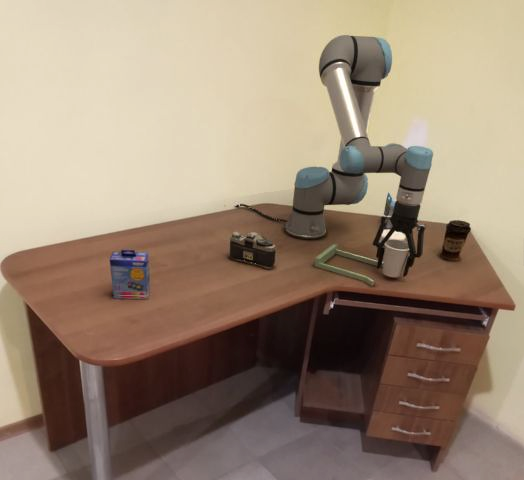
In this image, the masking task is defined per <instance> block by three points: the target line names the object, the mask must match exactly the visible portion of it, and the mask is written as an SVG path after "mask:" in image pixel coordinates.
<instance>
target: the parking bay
mask: <svg viewBox="0 0 524 480" xmlns="http://www.w3.org/2000/svg"><path fill="white" fill-rule="evenodd" d="M335 255H338V256H341V257H345V258H348V259H351V260H355V261H358V262H362V263H365V264H369V265H372V266H376V267H377V263H378V260H376V259H373V258H369V257H367V256H363V255H359V254H355V253H351V252H348V251H344V250H341V249H338V244H335V243H333V244H332V245H330V246H329V247H328V248H327V249H325V250H324V251H322V252H321V253H319V254H318V255H317V256H316V257H315V259H314V265H313V266H314V267H316V268H319V269H322V270H326V271H329V272H333V273H335V274H340V275H342V276H346V277H349V278H352V279H356V280H359V281H362V282H365V283H366V284H368V285H369V286H371V287H373V286H374V285H375V280H373V279H372V278H370V277H369V276H367V275H363V274H361V273H358V272H354V271H351V270H347V269H344V268H340V267H337V266H333V265H330V264H328V263H325V262H327V261H328V260H330V259H331V258H332V257H333V256H335ZM383 263H384V261H382V265H381V267H380V268H383Z"/></svg>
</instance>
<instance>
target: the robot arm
mask: <svg viewBox="0 0 524 480" xmlns="http://www.w3.org/2000/svg"><path fill="white" fill-rule="evenodd" d="M392 64H393V53H392V48H391V45H390V44H389V42H388V40H386V38H382V37H377V36H366V35H365V36H364V35H349V34H341V35H338V36H335V37H334V38H332V39H330V41H328V43H327V44H325V47H324V48H323V50H322V51H321V54H320V57H319V61H318V74H319V79H320V81H321V84H322V85H323V86H324V87H326V90H327V93H328V97H329V100H330V103H331V104H330V105H331V107H332V111H333V114H334V117H335V121H336V125H337V128H338V131H339V136H340V141H339V149H338V155H337V161H335V162H334V163H333V164H332V166H331V171H330V170H329V169H328V168H327V167H324V166H308V167H303V168H301V169H300V170H298V171H297V172H296V175H295V180H294V181H295V182H294V187H293V198H292V208H291V212H290V215H289V216H288V219H283V218H276V217H273V218H272V216H269V215H267V214H265V213H263V212H262V211H260V210H259V209H257V210H256V208H254V209H252V208H253V207H252V208H248V207H251V206H250V205H248V204H245V203H239V204H240V206H239V205H238V204H236V205H235V206H234V207H235V208H239V207H245V208H248V209H249V210H252V211H254V212H256V213H257V214H259V215H260V216H263V217H265V218H267V219H269V220H272V221H277V222H284V223H285V228H286V229H285V228H284V231H285V233H286V234H287V235H289V236H290V237H293V238H296V239H301V240H318V239H319V240H320V239H322V238H324V237H325V236H326V231H327V230H326V228H327V227H326V222H325V216H324V210H325V206H340V205H342V206H343V205H344V206H350V205H357V204H359V203H360V202H361V201H363V199H364V198H365V196H366V194H367V191H368V189H369V188H368V187H369V182H368V180H369V178H368V175H367V174H392V173H393V174H395V175H397V176H399V177H400V179H399V184H398V188H397V192H396V198H395V199H396V200H395V201H394V202H395V205H394V210H393V214H392V216H387V215H384V214H383V215H384V216H383V215H382V216H381V217H380V225H379V227H378V229H377V231H376V234H375V237H374V239H373V241H372V246H373V247H376V248H377V250H376V254H375V258H377V259H378V260H377V261H378V263H377V266H376V269H377V270H379V269H380V268H382V267H381V265H382V262H384V252H385V246H384V245H385V242H387V241H388V239H389V238H390V237H391V236H392V234H393V233H394V232H395V231H396V232H401V233H403V234H404V235H405V236H406V242H407V243H408V247H409V254H408V256H407V259H406V261H405V264H404V268H403V269H404V270H403V274H402V277H403V278H405V277H406V276H408V273H409V268H412V267H413V266H414V264H415V260H416V258H417V259H418V258H421V257H422V255H423V251H424V239H425V238H424V237H425V231H426V229H427V224H422V223H419V221H418V217H419V213H420V210H421V204H422V202H423V199H424V194H425V190H426V186H427V182H428V178H429V175H430V171H431V168H432V164H433V163H432V161H433V157H434V152H433V149H431V148H429V147H425V146H421V145H411V146H408V147H407V148H406V147H405V146H403V145H402V144H398V143H395V142H391V143H388V144H386V145H383V146H379V145H378V146H375V145H371V142H370V139H369V136H368V128H369V123H370V117H371V112H372V106H373V101H374V95H375V92H376V90H377V89H379V88H380V87H381V84H382V80H384V79H386V78H387V77H388V76H389V74H390V73H391V70H392ZM258 210H259V211H260V212H259V211H258ZM262 213H263V214H262ZM264 214H265V215H264ZM274 218H275V219H274ZM276 219H277V220H276ZM279 220H280V221H279ZM389 220H390V221H391V224H392V226H393V227H392V228H391V229H389V230H390V231H389V232H388V234H387V235H386V236H385V237H384V239H383V240H382V241H381V243H380V242H379V240H380V238H381V236H382V233H383V231H384V230H386V227H385V226H386V224H387V223H388V222H389ZM415 228H416V231H417V232H418V233H417V239H416V240H417V241H416V242H417V243H416V244H415V239H414V229H415Z"/></svg>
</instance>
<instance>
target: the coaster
mask: <svg viewBox="0 0 524 480" xmlns="http://www.w3.org/2000/svg"><path fill="white" fill-rule="evenodd" d="M389 231H390V229H384V231H383V233H382V236H381V238H380V240H379V242H380V243H381V241H382V240H383V239H384V237H385V236H386V235H387V234H388V232H389ZM391 239H396V240H402V241H405V242H406V240H407V237H406V234H404V233H401V232H396V231H395V232H394V233H393V234H392V236H391V237H390V238H389V239H388V240H391ZM383 247H385V245H384V246H383Z"/></svg>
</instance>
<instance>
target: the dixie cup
mask: <svg viewBox="0 0 524 480" xmlns="http://www.w3.org/2000/svg"><path fill="white" fill-rule="evenodd" d="M384 248H385V252H384V256H383V262H384V263H383V267H382V274H383V275H385V276H387V277H389V278H399V277H400V276H401V274H402V271H403V269H404V267H405V265H406V261H407V257H408V256H409V255H410V252H409V247H408V242H407V241H406V240H405V241H402V240H396V239H391V240H388V241H387V242H385V246H384Z"/></svg>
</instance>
